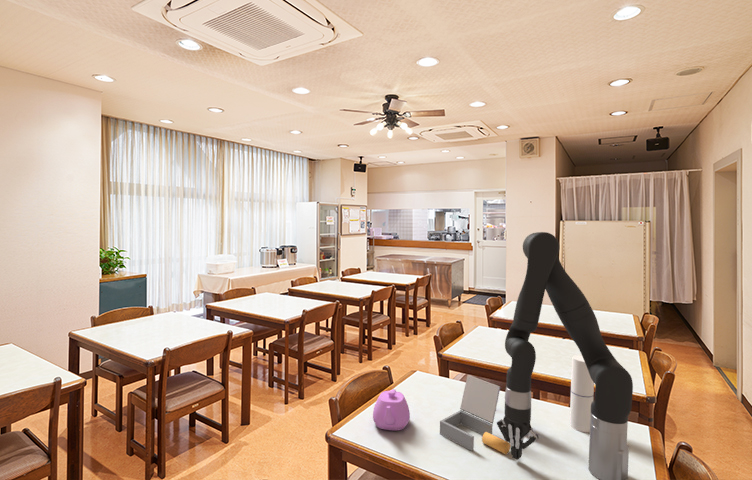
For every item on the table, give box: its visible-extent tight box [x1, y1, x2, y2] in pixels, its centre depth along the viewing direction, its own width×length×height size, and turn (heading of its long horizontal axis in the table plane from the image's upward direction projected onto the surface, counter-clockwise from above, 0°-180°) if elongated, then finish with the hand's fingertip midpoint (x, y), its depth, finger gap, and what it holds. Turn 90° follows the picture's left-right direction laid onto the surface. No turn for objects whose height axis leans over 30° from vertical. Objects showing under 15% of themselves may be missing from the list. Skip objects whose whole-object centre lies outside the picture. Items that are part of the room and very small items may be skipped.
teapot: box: [372, 388, 411, 431], centre depth 135 cm, size 20×13×12 cm, turn 172°
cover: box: [459, 374, 501, 425], centre depth 134 cm, size 13×12×1 cm
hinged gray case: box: [439, 409, 493, 452], centre depth 129 cm, size 13×12×4 cm
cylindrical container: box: [569, 354, 595, 433], centre depth 135 cm, size 7×7×25 cm
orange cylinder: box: [481, 432, 511, 455], centre depth 122 cm, size 8×4×4 cm
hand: (516, 457), depth 115 cm, fingers closed
